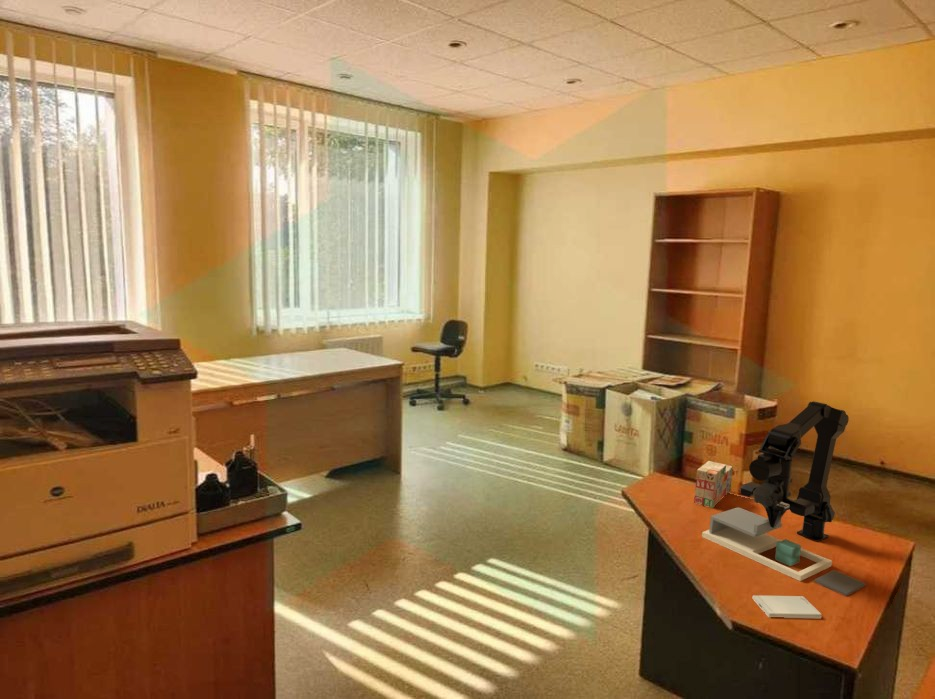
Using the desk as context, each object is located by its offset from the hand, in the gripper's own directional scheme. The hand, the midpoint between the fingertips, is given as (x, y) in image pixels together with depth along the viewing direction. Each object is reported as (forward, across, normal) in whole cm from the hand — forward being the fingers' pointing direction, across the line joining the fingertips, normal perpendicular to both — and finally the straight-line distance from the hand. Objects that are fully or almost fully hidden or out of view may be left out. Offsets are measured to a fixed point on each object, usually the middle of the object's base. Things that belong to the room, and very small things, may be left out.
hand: (772, 527), depth 177 cm
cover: (+6, -8, 0) cm, 10 cm away
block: (+8, +5, 0) cm, 9 cm away
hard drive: (+9, +18, -24) cm, 31 cm away
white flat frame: (+8, -2, 0) cm, 8 cm away
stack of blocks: (+8, -34, +23) cm, 42 cm away
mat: (+8, +19, 0) cm, 21 cm away
